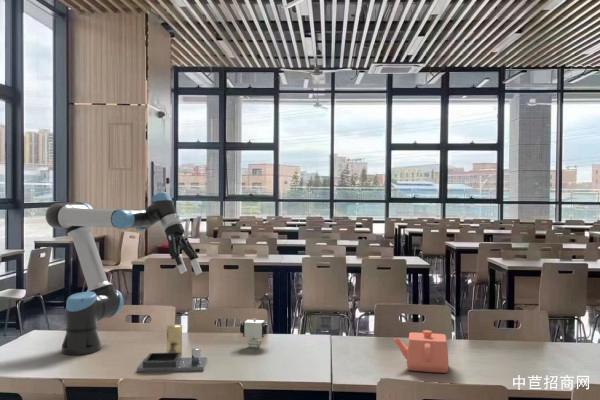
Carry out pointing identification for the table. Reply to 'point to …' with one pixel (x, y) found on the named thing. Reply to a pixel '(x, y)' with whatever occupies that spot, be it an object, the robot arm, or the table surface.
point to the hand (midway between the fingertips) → (191, 273)
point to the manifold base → (172, 362)
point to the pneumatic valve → (254, 331)
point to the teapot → (425, 352)
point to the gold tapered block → (174, 338)
